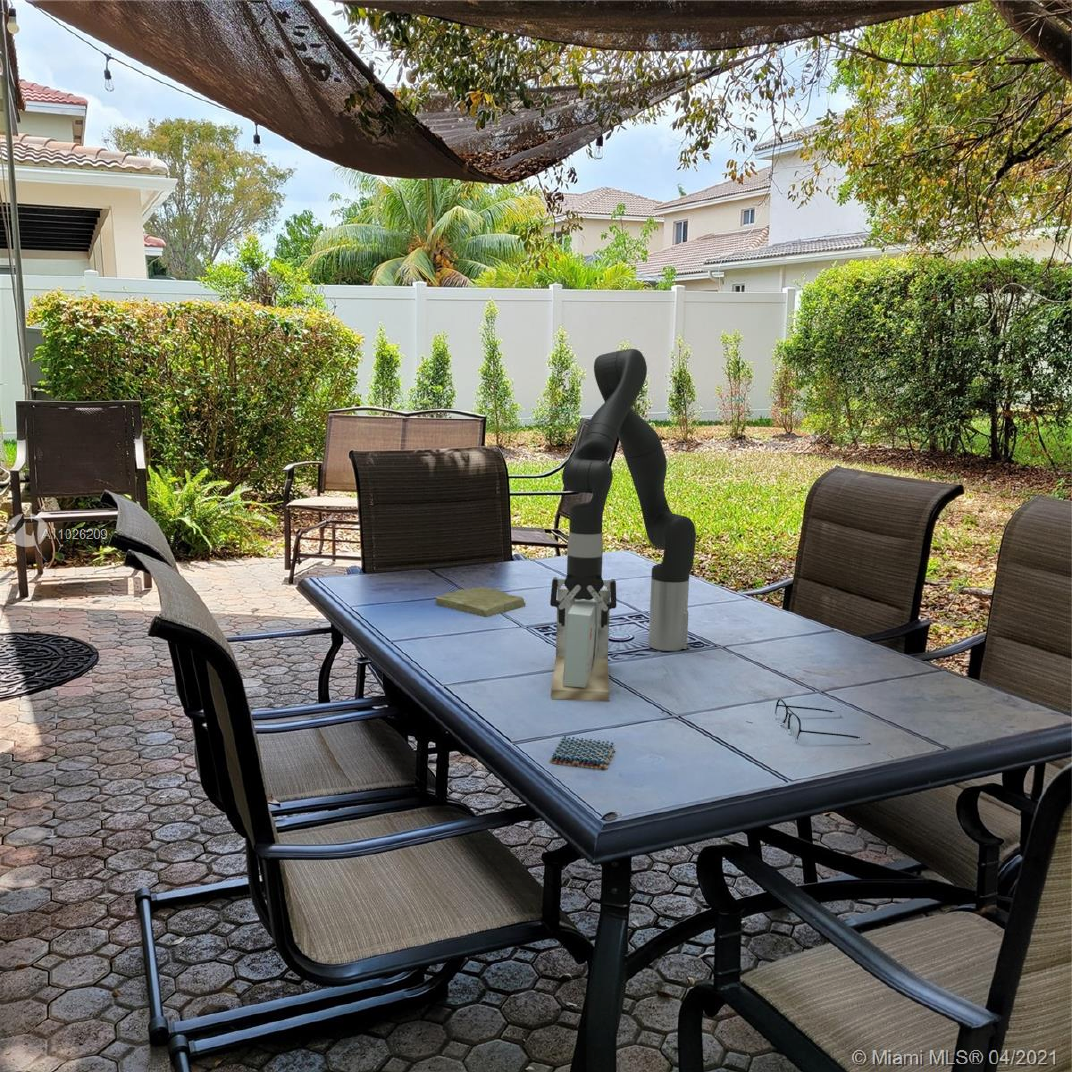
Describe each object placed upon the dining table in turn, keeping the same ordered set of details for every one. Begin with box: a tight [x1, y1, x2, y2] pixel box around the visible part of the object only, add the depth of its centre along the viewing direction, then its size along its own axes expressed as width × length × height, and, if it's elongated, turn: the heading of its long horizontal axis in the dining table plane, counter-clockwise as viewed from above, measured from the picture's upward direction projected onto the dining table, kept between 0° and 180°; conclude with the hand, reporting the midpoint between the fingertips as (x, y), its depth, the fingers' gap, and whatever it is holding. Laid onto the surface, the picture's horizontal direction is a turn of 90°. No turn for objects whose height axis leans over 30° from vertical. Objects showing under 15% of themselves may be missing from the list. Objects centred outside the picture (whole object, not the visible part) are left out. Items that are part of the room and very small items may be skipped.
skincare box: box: [563, 598, 600, 688], centre depth 215 cm, size 21×5×16 cm, turn 170°
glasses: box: [774, 698, 860, 740], centre depth 191 cm, size 14×15×5 cm
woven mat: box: [548, 735, 616, 770], centre depth 176 cm, size 10×11×2 cm
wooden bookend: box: [550, 587, 611, 702], centre depth 216 cm, size 12×25×18 cm, turn 177°
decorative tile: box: [435, 586, 527, 618], centre depth 283 cm, size 19×20×4 cm
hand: (582, 626), depth 215 cm, fingers open, 8 cm apart
